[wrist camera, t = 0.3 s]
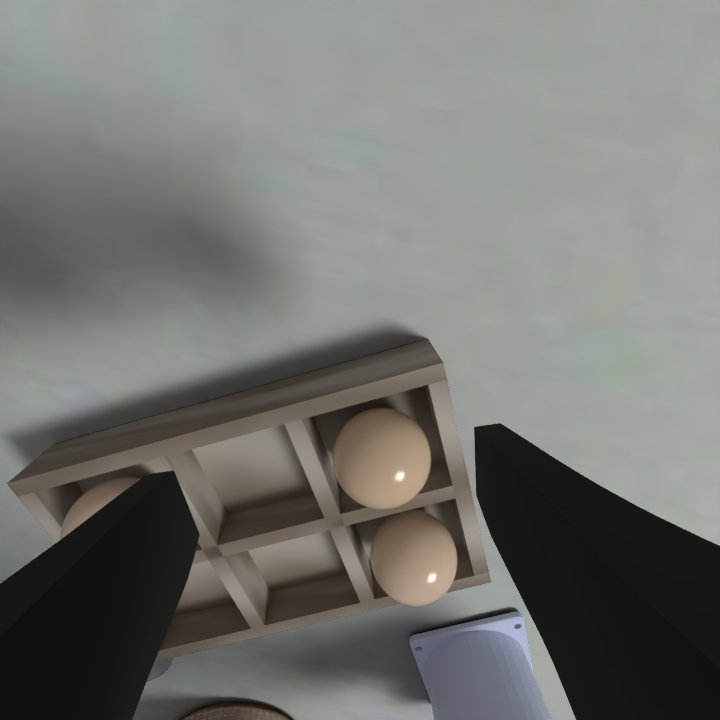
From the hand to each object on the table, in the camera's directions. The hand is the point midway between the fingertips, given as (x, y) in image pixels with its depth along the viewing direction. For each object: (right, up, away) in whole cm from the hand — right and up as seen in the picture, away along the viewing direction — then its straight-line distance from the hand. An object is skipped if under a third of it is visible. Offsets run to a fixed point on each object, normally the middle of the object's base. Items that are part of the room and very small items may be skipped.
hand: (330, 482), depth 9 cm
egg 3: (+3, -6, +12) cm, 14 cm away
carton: (-4, -5, +13) cm, 14 cm away
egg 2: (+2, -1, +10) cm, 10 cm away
